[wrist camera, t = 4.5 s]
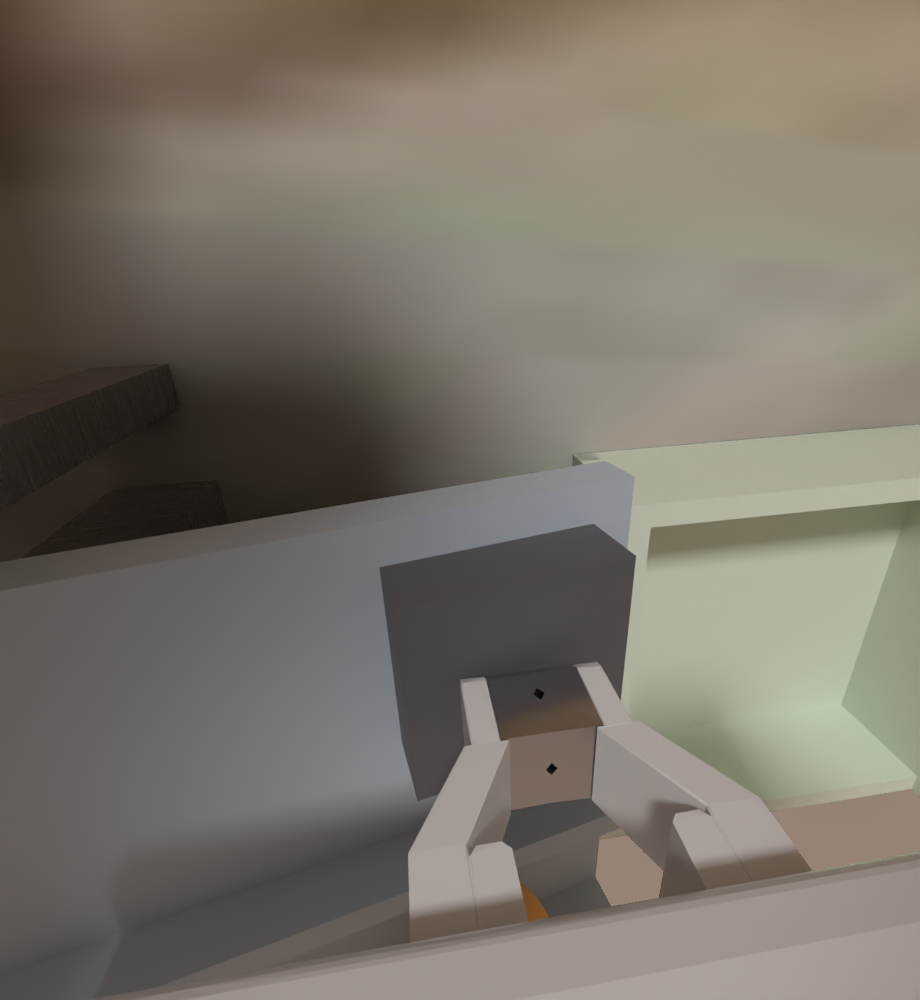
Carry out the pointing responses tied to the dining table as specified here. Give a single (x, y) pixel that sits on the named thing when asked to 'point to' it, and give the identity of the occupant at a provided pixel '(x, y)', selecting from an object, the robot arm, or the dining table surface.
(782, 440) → the bin
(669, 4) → the dining table surface
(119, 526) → the fulcrum stand
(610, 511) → the seesaw lever
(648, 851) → the robot arm
